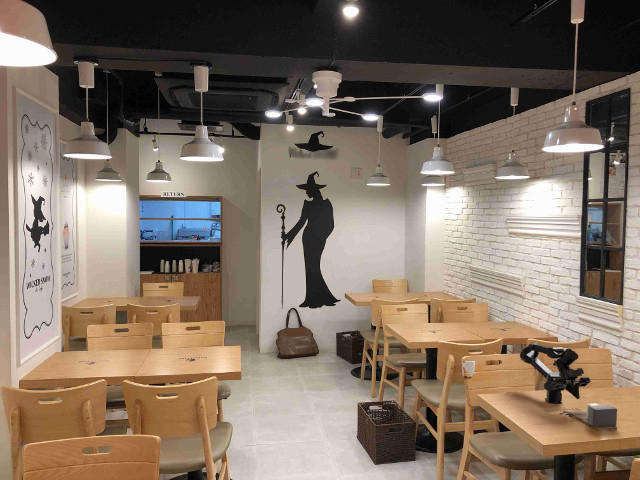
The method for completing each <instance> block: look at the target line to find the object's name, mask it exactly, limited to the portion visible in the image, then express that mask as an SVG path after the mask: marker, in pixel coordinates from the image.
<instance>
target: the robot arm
mask: <svg viewBox="0 0 640 480" xmlns="http://www.w3.org/2000/svg"><path fill="white" fill-rule="evenodd" d="M539 354H544V355H546V356H547V357H548V358H550V359H552V360H553V359H554V360H553V363H552V366H553V367H556V368H557V370H558V372H553V371H552V370H551V369H549V368H548V366H546V365H545V364H544V363H543V362H542V361H541V360H540V359H539ZM519 358H520V360H521V361H523V362H524V363H526V364H529V365H531V366H532V367H533V368H534V369H535V370H536V371H537V372H538V373H539V374H540V375H541V376H543V377H544V379H545V381H546V382H545V383H543V388H544V389H545V390H546V397H545V398H544V399H545V400H546V401H547V402H548V403H549V404H563V402H562V401H563V394H562V392H564V391H567V392H568V393H569V394H571V395H572V396H573V397H574V398H575V399H576V400H579V399H580V398H581V397H580V388H582V387H583V388H585V387H587V386H588V385H589V384H590V383H591V382H592V380H591V379H590V377H589V376H582V375H584V374H585V371H584V369H583V367H577V368H576V369H574V368H571V365H573V364H574V363H575V362H577V360H578V359H579V355H578V353H577V352H576V351H574V350H573V349H572V348H571V347H567V348H566V349H564V347H561V346H555V347H553V346H552V347H551V346H547V345H544V344H540V343H537V342H533V343H532V342H531V343H530V344H528V346H526V347H524V348H523V349H522V350H521V351H520V353H519ZM555 359H556V360H555ZM579 377H580V378H579Z"/></svg>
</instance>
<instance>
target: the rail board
mask: <svg viewBox="0 0 640 480" xmlns="http://www.w3.org/2000/svg"><path fill="white" fill-rule="evenodd" d="M566 413H567V414H566V415H568V416H570V417H572V418H574V419H576V420H578V421H580V422H581V423H583V424H585V425H587V426H589V427H591V428H592V429H594V430H596V431H612V430H613V431H615V430H618V426H617V425H616V426H607V427H594V426H592V425H591V424H589V423H588V419H587V410H571V411H570V410H569V411H566Z"/></svg>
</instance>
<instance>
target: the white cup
mask: <svg viewBox="0 0 640 480" xmlns="http://www.w3.org/2000/svg"><path fill="white" fill-rule="evenodd" d="M463 367H464V368H465V370H466V371H467V372H468V373H469V375H470V376H472V375H473V373H474V374H475V371H474V370H476V360H475V361H465V363H463V362H462V361H461V371H462V372H461V373H462V375H461V376H462V377H464V370H463Z"/></svg>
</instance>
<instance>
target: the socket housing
mask: <svg viewBox="0 0 640 480" xmlns="http://www.w3.org/2000/svg"><path fill="white" fill-rule="evenodd" d="M617 419H618V408H617V407H614V406H613V405H610V404H601V405H600V404H599V405H596V406H588V423H589V424H591V425H592V426H594V427H607V426H617V425H618V424H617V423H618V422H617V421H618V420H617Z"/></svg>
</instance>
